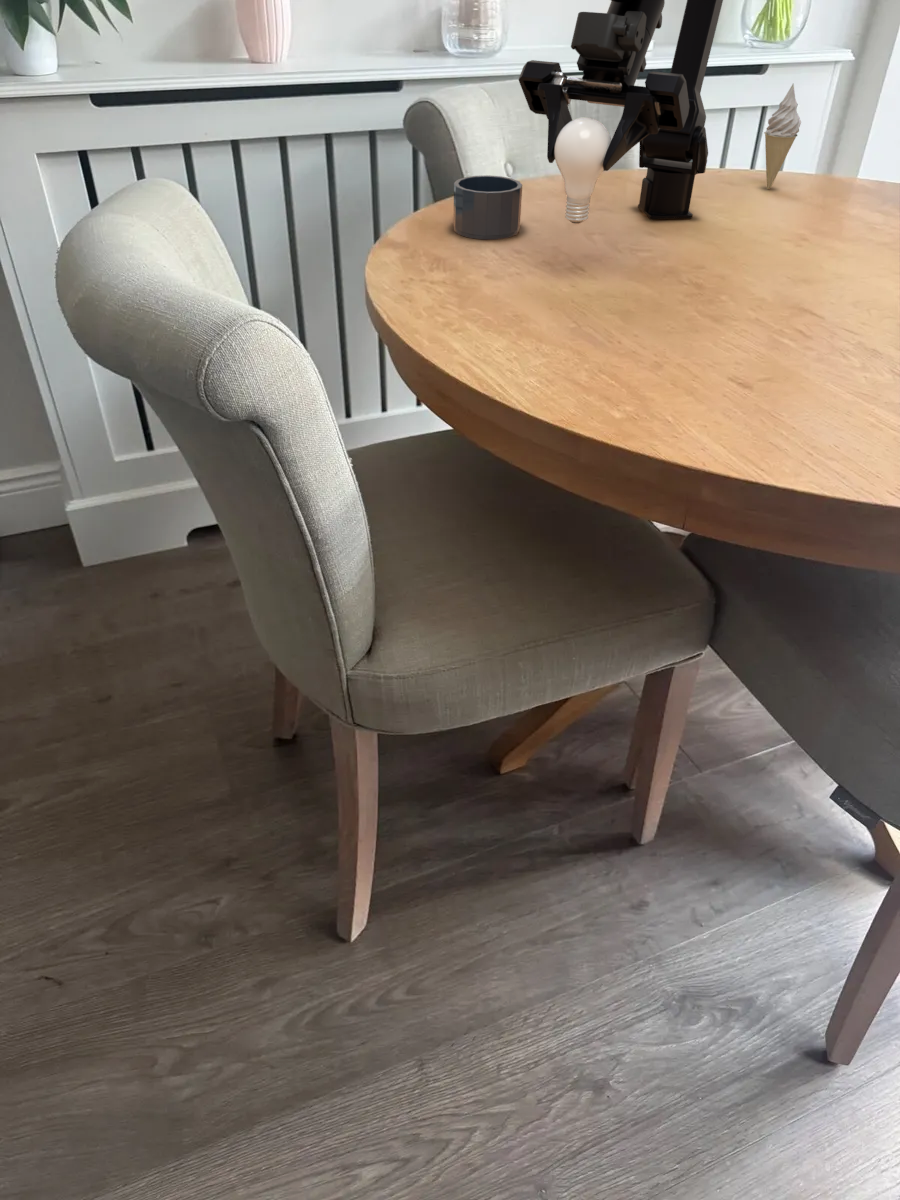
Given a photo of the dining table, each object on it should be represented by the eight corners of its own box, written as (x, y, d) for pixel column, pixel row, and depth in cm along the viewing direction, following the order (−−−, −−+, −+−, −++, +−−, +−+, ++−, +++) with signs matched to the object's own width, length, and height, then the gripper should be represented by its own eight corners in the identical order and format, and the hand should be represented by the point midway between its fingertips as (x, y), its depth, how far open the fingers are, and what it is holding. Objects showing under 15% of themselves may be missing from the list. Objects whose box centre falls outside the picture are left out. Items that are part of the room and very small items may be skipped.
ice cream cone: (788, 193, 140) (814, 86, 130) (756, 192, 140) (780, 85, 130) (779, 185, 144) (804, 80, 134) (749, 184, 144) (771, 80, 134)
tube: (511, 219, 127) (514, 174, 123) (525, 238, 120) (528, 191, 116) (449, 221, 125) (449, 176, 122) (459, 240, 118) (460, 193, 115)
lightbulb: (594, 234, 99) (606, 126, 92) (541, 227, 101) (549, 120, 94) (609, 219, 103) (621, 114, 96) (558, 212, 105) (566, 109, 98)
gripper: (531, -28, 93) (479, 106, 93) (701, -19, 86) (646, 126, 86) (555, 49, 104) (509, 170, 103) (709, 62, 96) (660, 192, 96)
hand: (576, 164), depth 97 cm, fingers closed on lightbulb, 6 cm apart
